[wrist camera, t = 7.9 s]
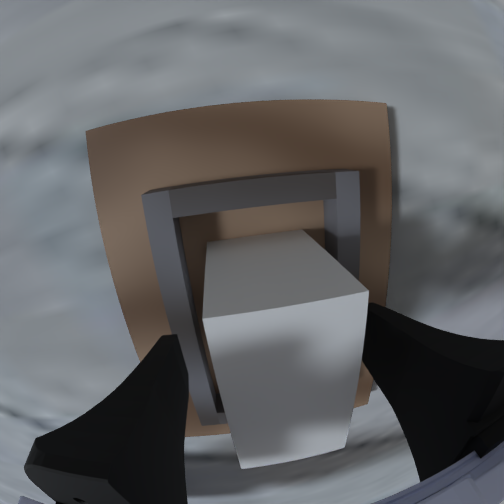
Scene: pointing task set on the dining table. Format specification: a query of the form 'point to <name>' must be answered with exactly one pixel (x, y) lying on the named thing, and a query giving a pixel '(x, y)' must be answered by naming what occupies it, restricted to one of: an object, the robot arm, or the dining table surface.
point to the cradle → (236, 210)
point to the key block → (283, 344)
